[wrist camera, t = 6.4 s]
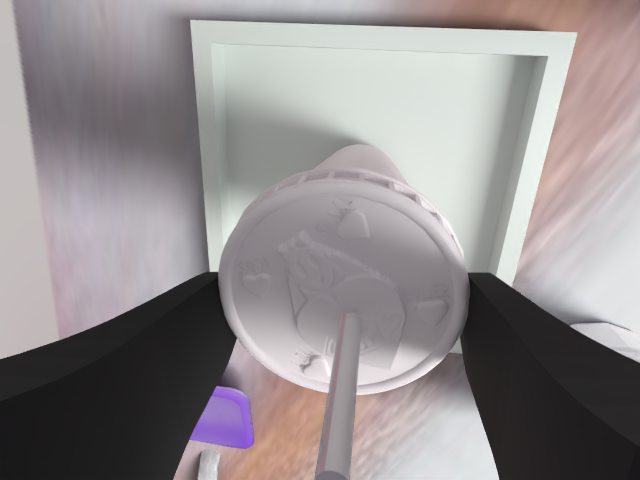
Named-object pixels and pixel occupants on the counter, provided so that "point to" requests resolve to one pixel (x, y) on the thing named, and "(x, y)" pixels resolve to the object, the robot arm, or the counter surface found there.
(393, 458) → the counter surface
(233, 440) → the spatula
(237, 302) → the smoothie
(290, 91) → the tray
